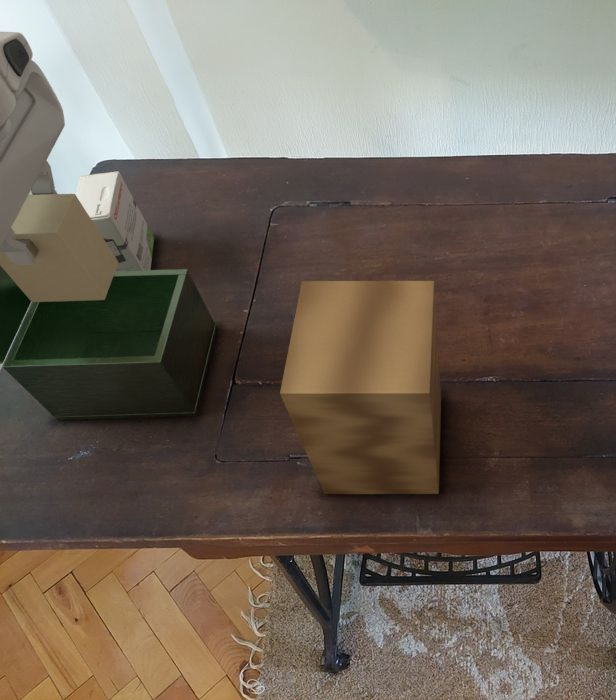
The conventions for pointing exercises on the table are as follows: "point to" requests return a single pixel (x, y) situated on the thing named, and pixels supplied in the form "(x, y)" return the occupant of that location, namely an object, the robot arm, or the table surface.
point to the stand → (367, 385)
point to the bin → (118, 350)
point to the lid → (10, 311)
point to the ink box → (117, 219)
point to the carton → (61, 251)
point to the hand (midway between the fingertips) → (40, 233)
